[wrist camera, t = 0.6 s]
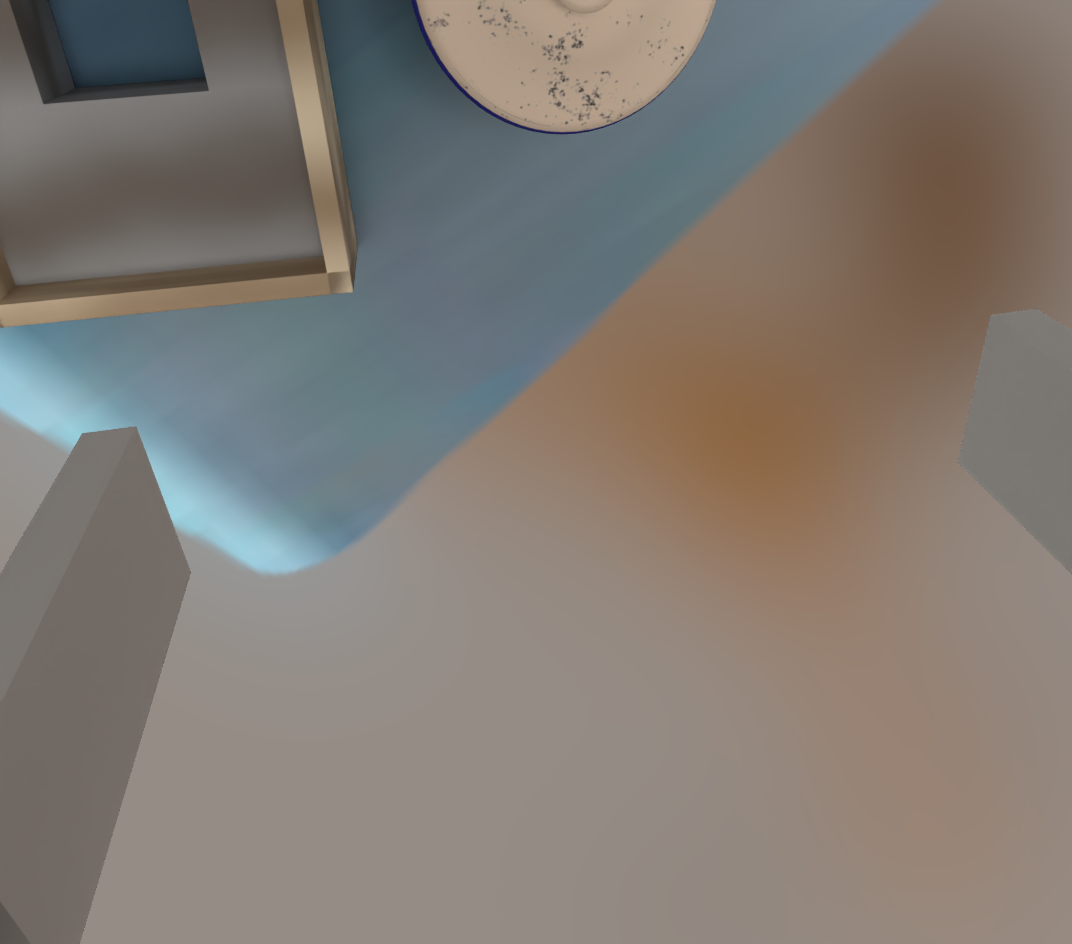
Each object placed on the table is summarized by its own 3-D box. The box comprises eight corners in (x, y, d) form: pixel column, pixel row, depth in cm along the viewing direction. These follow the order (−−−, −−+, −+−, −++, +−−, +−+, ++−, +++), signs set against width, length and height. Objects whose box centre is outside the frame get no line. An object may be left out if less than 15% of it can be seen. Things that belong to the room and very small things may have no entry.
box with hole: (-203, -357, 25) (-335, -421, 21) (256, -372, 27) (227, -436, 22) (33, 276, 35) (-20, 329, 31) (357, 245, 37) (353, 291, 32)
